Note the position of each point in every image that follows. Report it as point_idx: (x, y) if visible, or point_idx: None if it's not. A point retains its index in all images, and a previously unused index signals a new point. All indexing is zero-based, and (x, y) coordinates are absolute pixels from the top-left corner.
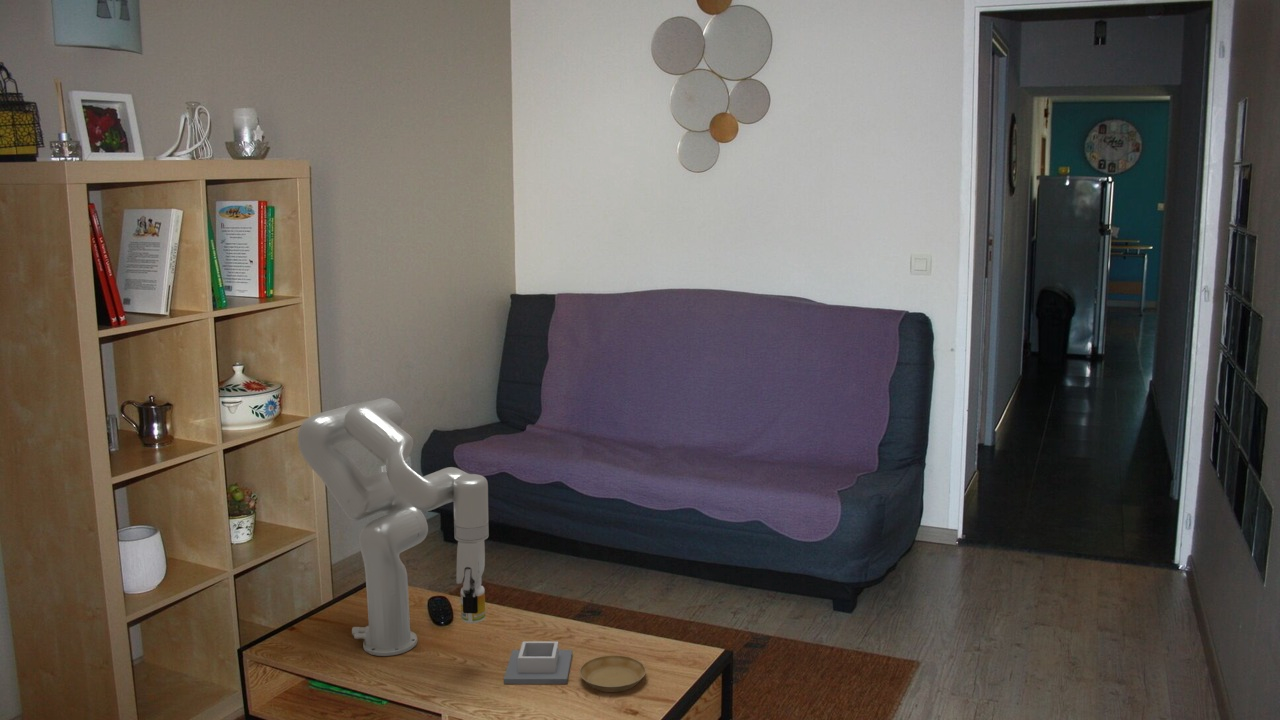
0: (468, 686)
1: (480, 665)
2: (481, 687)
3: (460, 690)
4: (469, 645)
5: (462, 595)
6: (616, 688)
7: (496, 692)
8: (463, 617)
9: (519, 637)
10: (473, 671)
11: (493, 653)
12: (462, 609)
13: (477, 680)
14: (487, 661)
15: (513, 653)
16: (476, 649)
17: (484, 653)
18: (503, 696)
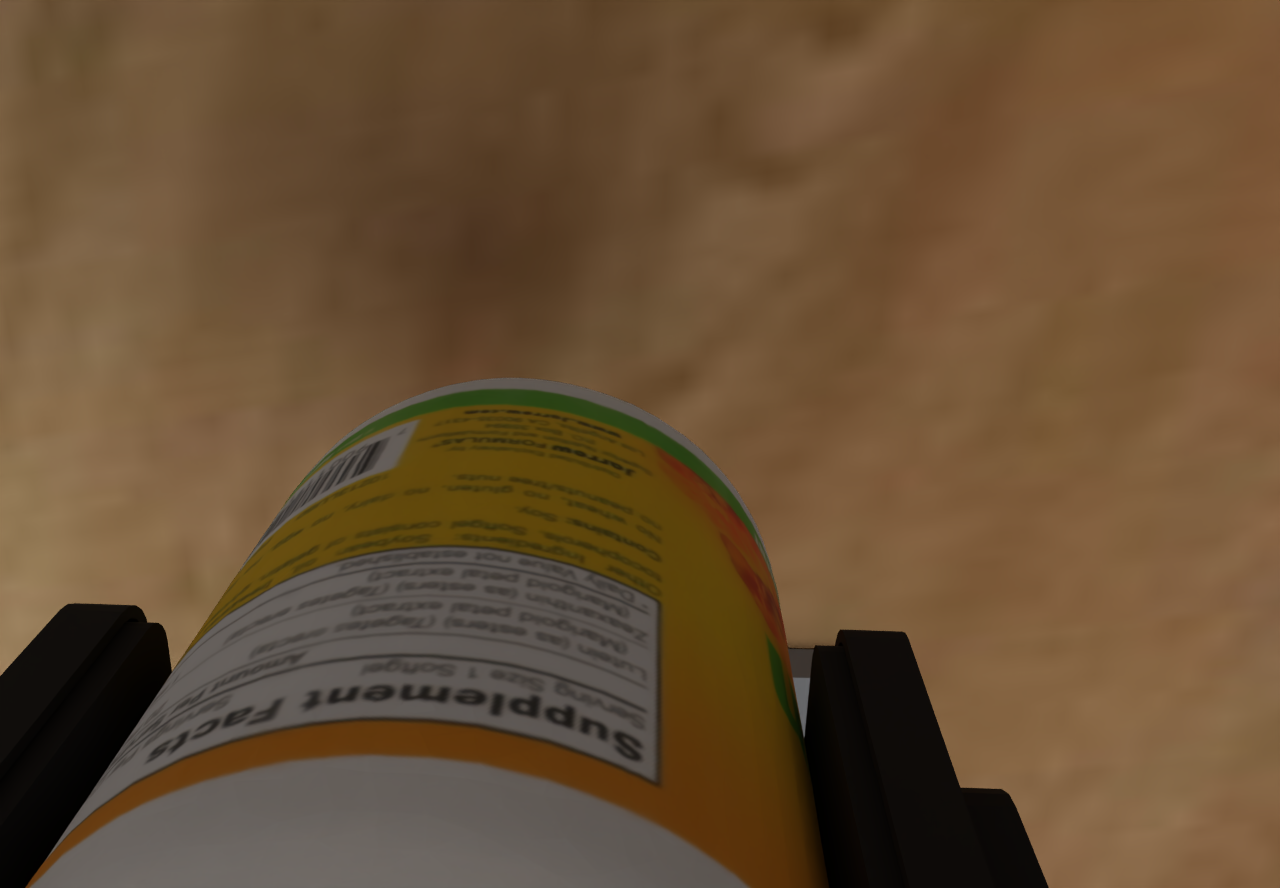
0: (167, 297)
1: (649, 358)
2: (162, 434)
3: (69, 224)
4: (1180, 155)
5: (62, 854)
6: None
7: (81, 586)
8: (302, 485)
9: (1274, 676)
10: (509, 301)
11: (928, 459)
12: (270, 551)
13: (307, 373)
14: (741, 420)
15: (798, 697)
16: (1056, 257)
17: (940, 363)
18: (15, 655)
